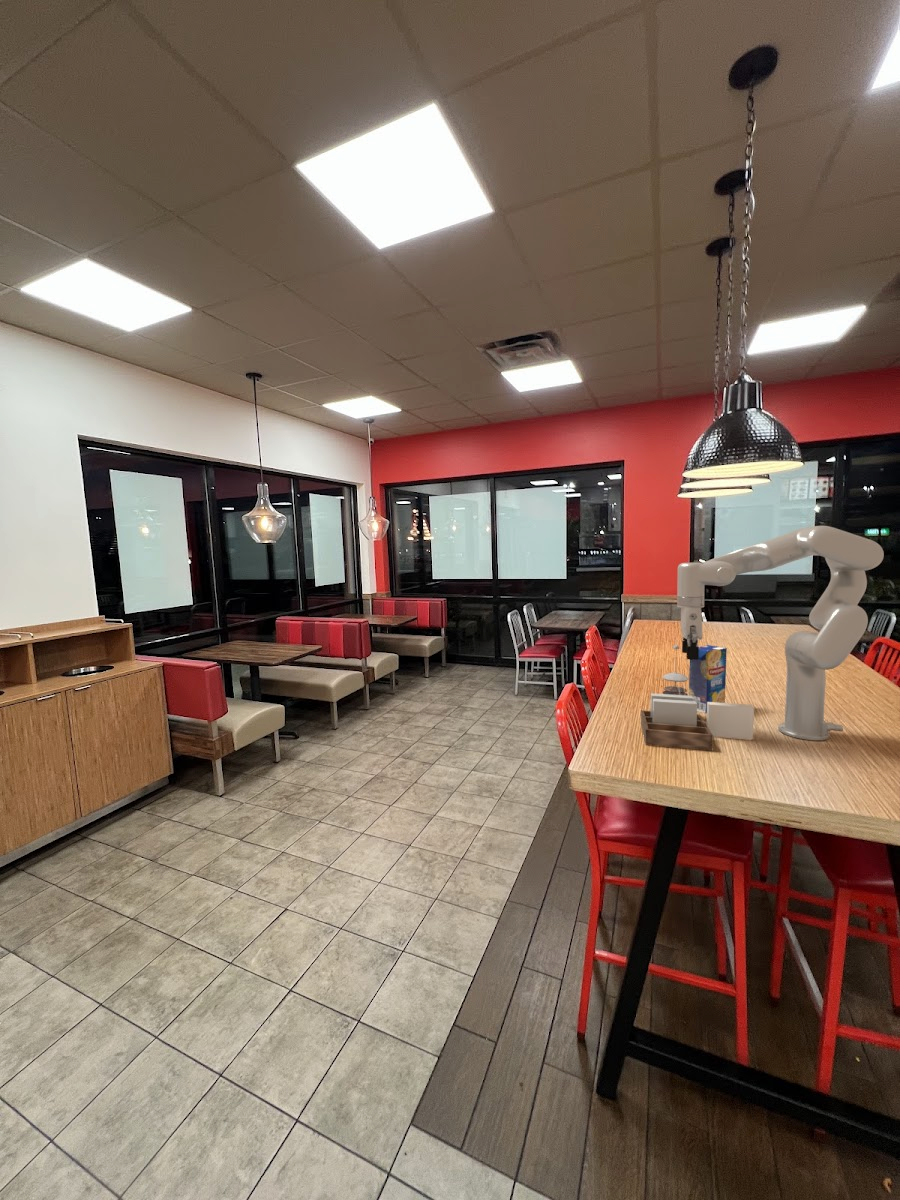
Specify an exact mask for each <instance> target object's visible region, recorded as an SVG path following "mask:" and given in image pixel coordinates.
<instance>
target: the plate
mask: <svg viewBox="0 0 900 1200" xmlns="http://www.w3.org/2000/svg"><path fill="white" fill-rule="evenodd" d="M754 719H755V707H754V705H752V704H747V703H746V704H745V703H733V702H732V703H730V702H725V703H718V702H707V714H706V722H705V724H706V725H707V727H708V728H709V730H710V732H711V733H712V735H713V738H727V739H737V740H739V739H740V740H750V741H752V740H754V722H755V721H754Z"/></svg>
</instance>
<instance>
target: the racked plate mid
mask: <svg viewBox="0 0 900 1200" xmlns="http://www.w3.org/2000/svg"><path fill="white" fill-rule="evenodd" d="M697 714H698V711H697V703H696V702H695V701H683V700H667V699H653V715H652V723H660V724H672V725H685V726H697Z"/></svg>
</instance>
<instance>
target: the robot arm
mask: <svg viewBox="0 0 900 1200" xmlns="http://www.w3.org/2000/svg"><path fill="white" fill-rule="evenodd" d="M884 553H885V552H884V550H883V547H882V546H881V545H880V544H879V543H877V542H876V541H874V540H873V539H868V538H866V537H864V536H860V535H858V534H857V535H856V534H854V533H851V532H848V531H845V530H842V529H838V528H837V527H833V526H828V525H814V526H806V527H801V528H798V529H796V530H793V531H790V532H787V533H784V534H782V535H779V536H776V537H773V538H770V539H767V540H765V541H761V542H759V543H756V544H753V545H749V546H747V547H744V548H742V549H738V550H735V551H732V552H729V553H725V554H723V555H720V556H718V557H717V556H716V557H714V558H712V559H709V560H707V561H706V560H705V562H703V563H702V562H681V563H680V564H678V566H677V581H676V583H677V589H676V590H677V597H676V599H677V600H676V603H677V605H676V606H677V608H680V633H681V634H680V635H681V636H682V640H681V645H682V646H681V652H682V653H683V654H686V659H687V660H689V661H690V660H698V659H699V647H700V646H699V640H702V639H703V615H702V613H703V612H702V608H704V607H705V586H717V587H724V586H727V585H730V584H731V583H732V582H734V580H735V578H736V576H739V575H741V574H746V573H753V572H754V573H755V572H762V571H763V572H765V571H768V570H772V569H773V570H774V569H777V568H779V567H781V566H784V565H786V564H789V563H792V562H796V561H798V560H802V559H803V558H808V557H812V556H820V557H823V558H824V559H825V561H826V564H827V566H828V567H829V569H830V581H829V583H828V586H827V587H826V588H825V590H824V591H823V593H822V594H821V596H820V598H819V599H818V600H817V602H816V604H815V605H814V606H813V607H812V609H811V611H810V613H809V616H808V619H809V623H810V625H811V626H813V627H814V628H815V629H817V630H819V632H814V631H811V630H810V631H809V630H799V631H796V632H793V633H792V634H790V635H789V636H788V637H787V639H786V641H785V644H784V654H785V656H784V657H785V661H786V662H785V663H786V686H785V703H784V704H785V705H784V706H785V707H784V708H785V709H784V722H782V723H780V724H778V727H777V728H778V731H779V732H781V733H782V734H784V735H787V736H789V737H792V738H797V739H800V740H807V741H824V740H828V739H829V738H830V733H829V732H831V731H834V732H843V731H844V727H843V725H842V724H835V723H834V722H828V721H827V722H826V720H824V716H825V715H824V714H825V699H826V698H825V697H826V683H827V682H826V681H827V678H826V676H827V675H826V670H827V671H830V670H833V669H836V668H838V667H839V666H840V665H842V664H843V662H844V661H845V660H846V659H848V656H849V655H850V654H851V653H852V651H853V650H854V648H855V646H856V645H857V644H858V643H859V640H860V639H862V636H863V635H864V634H865V632H866V629H867V627H868V621H869V619H868V618H869V617H868V615H867V612H866V610H864V609H863V607H861V606H859V605H858V604H859V603H860V601H861V599H862V598H863V596H864V594H865V592H866V589H867V584H868V579H867V575H866V571H869V570H872V569H874V568H876V567H878V566H879V565H880V564H881V563H882V561H883V560H884Z"/></svg>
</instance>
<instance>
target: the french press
mask: <svg viewBox="0 0 900 1200" xmlns="http://www.w3.org/2000/svg"><path fill="white" fill-rule="evenodd" d="M672 648H673V649H674V650H679V649H680V646H679V645H677V644H675V645H673V647H672ZM674 661H675V663H674V664H675V666H674V668H675V669H674V672H670V673H666V674H664V675H663V676H661V677H662V679H663V680H665V681H668V682H673V683H674V686H672V685H671V686H669V685H668V686H665V687H663V689H664V691H662V694H670V695H686V696H689V693H687V692H688V689H686V688H685V686H684V684H682V685H681V686H679V684H677V685H676V683H684V682H687V681H689V676H686V675H685V674H682V673H678V672H677V658H675V660H674Z"/></svg>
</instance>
